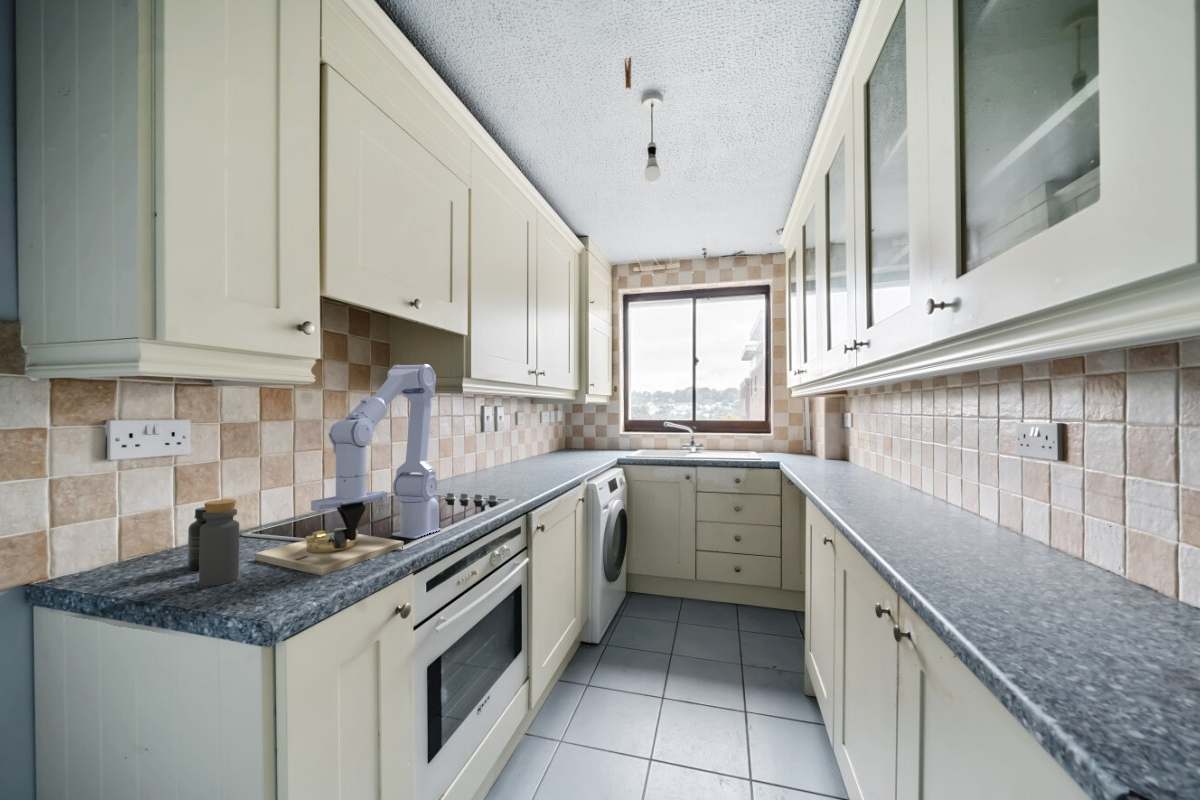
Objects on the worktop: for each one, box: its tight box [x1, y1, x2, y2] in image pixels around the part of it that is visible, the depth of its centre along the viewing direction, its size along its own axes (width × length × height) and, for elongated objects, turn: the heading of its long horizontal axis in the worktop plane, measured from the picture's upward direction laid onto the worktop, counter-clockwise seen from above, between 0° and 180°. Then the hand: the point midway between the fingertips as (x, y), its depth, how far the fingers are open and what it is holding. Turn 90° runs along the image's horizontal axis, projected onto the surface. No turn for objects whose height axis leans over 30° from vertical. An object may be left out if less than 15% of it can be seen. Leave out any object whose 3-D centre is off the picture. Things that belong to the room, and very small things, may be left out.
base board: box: [254, 533, 405, 577], centre depth 105 cm, size 20×22×2 cm
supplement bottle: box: [187, 506, 207, 571], centre depth 97 cm, size 7×7×12 cm
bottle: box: [198, 498, 240, 587], centre depth 89 cm, size 6×6×15 cm
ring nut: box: [305, 527, 359, 553], centre depth 103 cm, size 10×15×6 cm, turn 39°
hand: (350, 539), depth 99 cm, fingers closed
